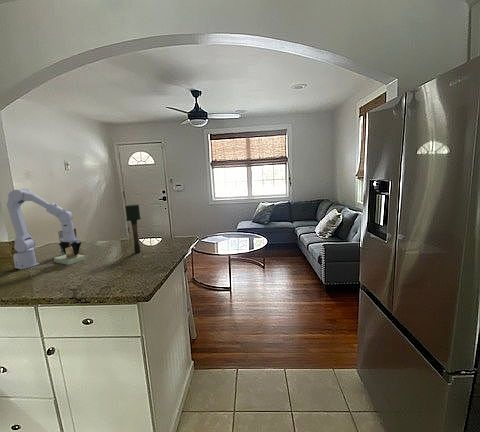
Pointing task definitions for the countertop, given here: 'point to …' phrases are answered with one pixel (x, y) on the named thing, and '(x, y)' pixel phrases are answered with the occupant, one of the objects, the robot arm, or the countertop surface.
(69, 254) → the peg
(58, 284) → the countertop surface
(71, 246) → the coffee box
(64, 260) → the board
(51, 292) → the countertop surface
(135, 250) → the stick grenade
